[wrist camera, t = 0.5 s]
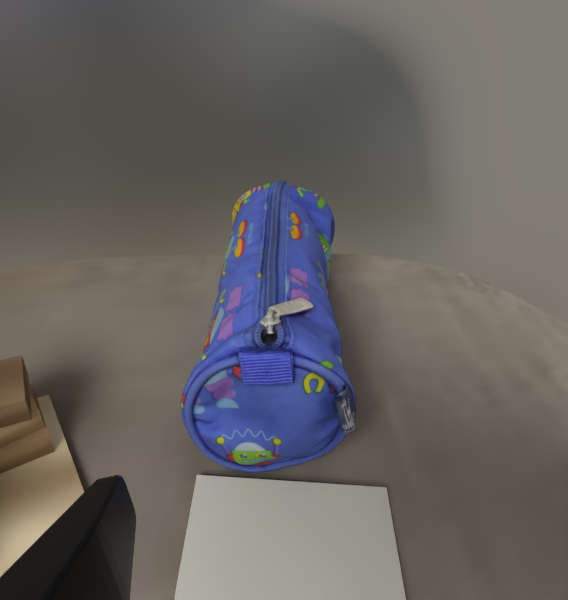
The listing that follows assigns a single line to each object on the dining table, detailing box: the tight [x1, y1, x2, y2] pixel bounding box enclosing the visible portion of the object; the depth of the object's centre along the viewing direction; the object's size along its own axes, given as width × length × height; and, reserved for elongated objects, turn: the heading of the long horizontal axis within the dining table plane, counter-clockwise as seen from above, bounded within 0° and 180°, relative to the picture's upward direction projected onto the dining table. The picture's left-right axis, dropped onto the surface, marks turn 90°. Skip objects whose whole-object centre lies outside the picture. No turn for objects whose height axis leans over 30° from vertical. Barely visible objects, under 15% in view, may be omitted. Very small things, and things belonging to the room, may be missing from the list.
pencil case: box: [181, 180, 356, 473], centre depth 30 cm, size 22×9×10 cm, turn 178°
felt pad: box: [174, 475, 406, 600], centre depth 21 cm, size 10×10×1 cm
